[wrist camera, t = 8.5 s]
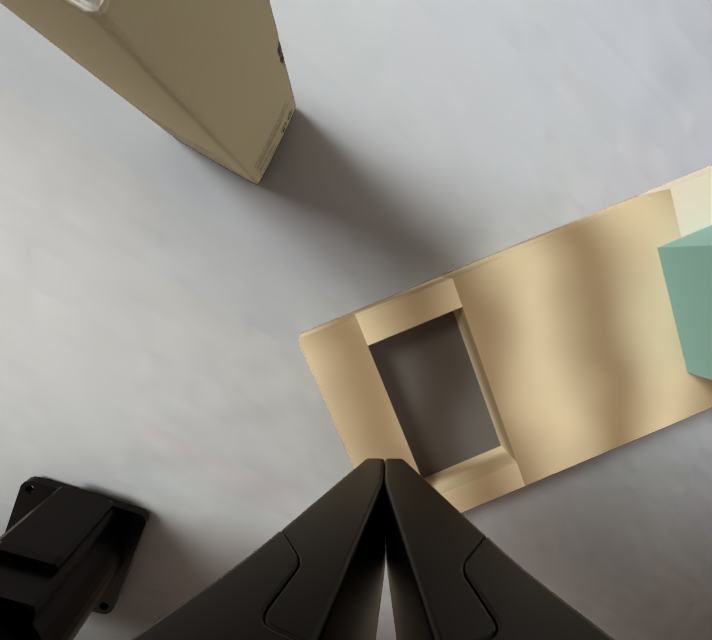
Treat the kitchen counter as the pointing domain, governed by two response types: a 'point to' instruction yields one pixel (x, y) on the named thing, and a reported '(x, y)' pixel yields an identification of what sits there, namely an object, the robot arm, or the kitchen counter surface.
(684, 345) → the teal L-block
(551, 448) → the birch board
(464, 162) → the kitchen counter surface
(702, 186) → the cream pad
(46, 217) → the kitchen counter surface
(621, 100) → the kitchen counter surface
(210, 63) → the box
